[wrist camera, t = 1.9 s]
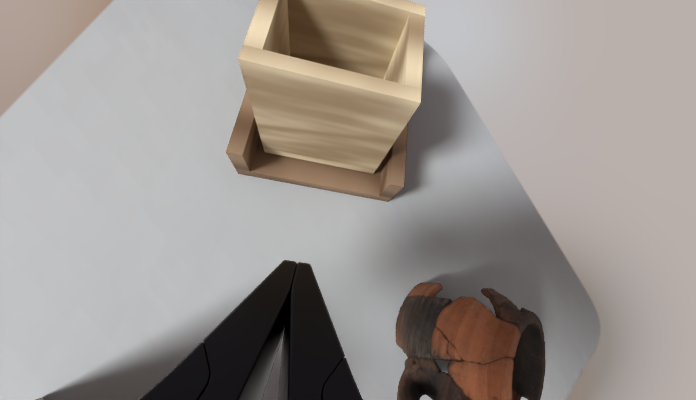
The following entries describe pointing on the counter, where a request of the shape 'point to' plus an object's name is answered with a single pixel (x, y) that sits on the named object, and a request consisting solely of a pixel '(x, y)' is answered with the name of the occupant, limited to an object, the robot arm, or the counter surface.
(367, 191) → the bay
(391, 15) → the crate
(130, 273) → the counter surface
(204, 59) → the counter surface
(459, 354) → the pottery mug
